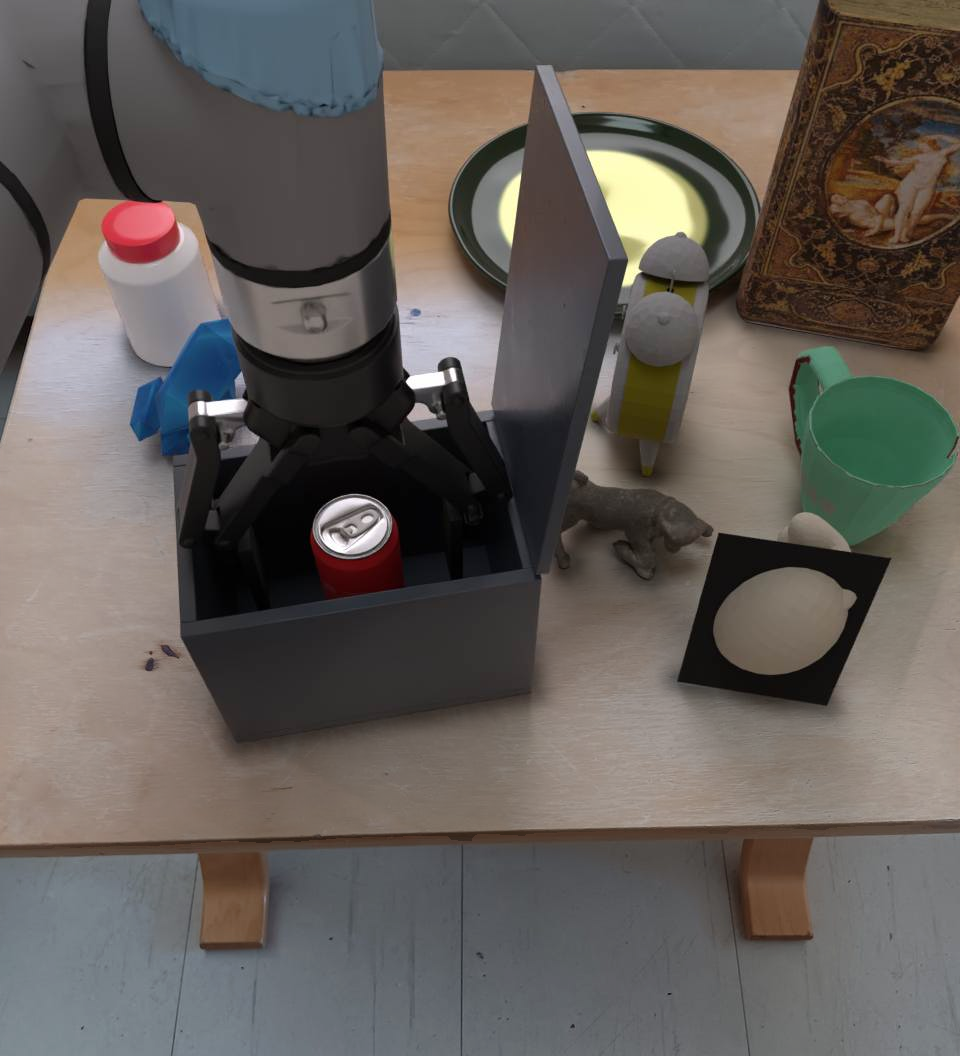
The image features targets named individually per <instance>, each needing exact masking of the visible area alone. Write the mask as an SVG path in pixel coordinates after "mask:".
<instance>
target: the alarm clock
mask: <svg viewBox="0 0 960 1056" xmlns="http://www.w3.org/2000/svg"><path fill="white" fill-rule="evenodd" d="M638 268H639V270H641V271H643V272H640V273H638V274H637V275H636V277H635V279H634V282H633V284H632V285H631V290H630V298H629V302H628V307H627V310H625V309H626V306H625V305H624V307H623V311H622V317H620V319H621V320H624V321H623V325H622V330H621V335H620V339H619V340H615V341H614V345H613V350H612V355H616V354H617V355H616V361H615V365H614V366H615V367H614V372H613V377H612V382H611V389H610V394H609V396H608V397H607V398H606V399H604V401H603V402H602V403H601V404H599V406H598V407H596V408H595V409H594V410H593V411H592V412H590V414H589V417H590V419H591V421H593V422H595V421H599V420H603V419H605V418H606V420H605V426H606V427H605V428H606V429H607V430H608V431H609V432H610V433H612V434H616V435H617V436H620V437H626V438H630V439H631V438H632V439H637V440H638V442H639V454H640V466H641V475H642V476H645V477H649V476H651V475H652V473H653V469H654V466H655V462H656V459H657V455H658V452H659V448H660V445H661V444H663V443H667V444H670V443H673V442H675V441H676V439H677V437H678V435H679V433H680V429H681V426H682V422H683V417H684V415H685V410H686V406H687V401H688V397H689V393H690V389H691V384H692V380H693V375H694V371H695V366H696V363H697V361H696V360H697V356H698V354H699V353H698V352H699V347H700V343H701V338H702V333H703V328H704V323H705V316H706V312H707V307H708V301H709V295H710V294H709V286H708V285H707V284H706V283H705V281H706V280H708V277H709V263H708V260H707V257H706V254H705V252H704V250H703V249H702V248H701V246H700V245H699V244H698V243H696V242H695V241H694V240H692V239H690V238H688V237H687V236H686V234H685V233H684V232H677V233H676V235H673V236H667V237H664V238H662V239H659V240H657V241H656V242H655V243H653V244H652V245H651V246H650V247H649V248H648V249H647V251H646V252H645V253H644V255H643V257H642V259H641V261H640V264H639V267H638ZM708 294H709V295H708ZM624 315H626V316H625V317H624ZM616 352H617V353H616Z"/></svg>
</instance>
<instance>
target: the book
mask: <svg viewBox="0 0 960 1056" xmlns="http://www.w3.org/2000/svg"><path fill="white" fill-rule="evenodd" d="M817 3H818V4H817V7H816V11H815V13H814V18H813V21H812V25H811V28H810V32H809V35H808V39H807V43H806V46H805V49H804V53H803V57H802V60H801V64H800V68H799V70H798V75H797V78H796V82H795V86H794V89H793V93H792V96H791V101H790V104H789V107H788V111H787V115H786V118H785V122H784V125H783V129H782V132H781V136H780V139H779V142H778V146H777V150H776V153H775V158H774V160H773V165H772V168H771V172H770V176H769V178H768V183H767V186H766V189H765V193H764V197H763V200H762V204H761V206H760V207H761V211H760V214H759V218H758V222H757V225H756V229H755V232H754V236H753V240H752V243H751V247H750V250H749V254H748V257H747V261H746V265H745V267H744V268H743V272H742V275H741V280H740V282H739V286H738V290H737V294H736V297H735V309H736V311H737V313H738V315H739V317H740V318H741V319H742V320H743V321H745V322H746V323H751V324H756V325H757V324H758V325H763V326H768V327H775V328H780V329H787V330H792V331H798V332H804V333H807V334H808V333H809V334H814V335H820V336H826V337H831V338H838V339H843V340H849V341H855V342H860V343H867V344H873V345H877V346H885V347H890V348H899V349H906V350H912V351H925V350H928V349H929V348H930V347H932V346H933V345H934V343H935V342H936V341H937V339H938V338H939V337H940V335H941V333H942V331H943V329H944V327H945V325H946V324H947V321H948V320H949V317H950V316H951V313H952V312H953V310H954V308H955V306H956V304H957V302H958V300H959V298H960V0H818V2H817Z"/></svg>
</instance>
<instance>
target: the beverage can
mask: <svg viewBox="0 0 960 1056" xmlns="http://www.w3.org/2000/svg"><path fill="white" fill-rule="evenodd" d="M310 540H311V546H312V550H313V554H314V558H315V562H316V565H317V569H318V573H319V577H320V581H321V585H322V589H323V593H324V597H325V600H332V599H339V598H345V597H351V596H357V595H364V594H370V593H376V592H382V591H389V590H395V589H401V588H405V582H404V574H403V566H402V558H401V550H400V542H399V534H398V527H397V524H396V521H395V519H394V518H393V516H392V515H391V514H390V512H389V510H388V509H387V508H386V507H385V505H383V504H382V503H381V502H380V501H378V500H376V499H374V498H372V497H369V496H366V495H360V494H350V495H344V496H341V497H338V498H335V499H333V500H331V501H330V502H328V503H327V504H325V505H324V506H323V507H322V508H321V509H320V510H319V512H318V513H317V515H316V517H315V519H314V522H313V527H312V530H311V536H310Z"/></svg>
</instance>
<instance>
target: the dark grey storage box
mask: <svg viewBox="0 0 960 1056" xmlns="http://www.w3.org/2000/svg"><path fill="white" fill-rule="evenodd" d="M476 413H477V415H478V417H479V418H480V420H481V422H482V424H483V425H484V427H485V429H486V430H487V432H488V434H489V436H490V437H491V439H492V441H493V442H494V444H495V446H496V448H497V449H498V451H499V453H500V455H501V456H502V458H503V460H504V462H505V466H506V469H507V473H508V477H509V481H510V485H511V489H512V493H513V497H512V499H511V500H510V501H508V502H506V503H503V504H498V503H495V502H494V501H493V500H492V501H489V502H487V503H485V504H484V505H483V506H482V508H483V513H484V520H483V522H481V523H480V534H479V536H478V537H477V539H474V540H467V541H463V579H458V580H451V579H450V574H449V569H448V564H447V560H446V555H445V550H444V529H443V498H441V497H440V496H439V495H437V494H436V493H435V492H433V491H432V490H431V489H429V488H428V487H426V486H425V485H424V484H422V483H421V482H420V481H418V480H417V479H415V478H414V477H413V476H411V475H410V474H409V473H407V472H406V471H405V470H403V469H402V468H400V467H397V468H396V469H394V468H392V467H390V466H389V465H388V464H386V463H385V462H383V461H382V460H381V459H379V458H378V457H377V456H375V455H374V454H372V453H371V454H368V456H369V458H368V459H360V460H336V461H333V462H330V463H327V464H324V465H317V466H309V462H305V463H304V464H303V465H302V467H301V468H300V469H299V471H298V472H297V473H296V475H295V476H294V477H293V479H292V480H291V481H290V482H289V483H288V484H285V483H282V485H281V486H280V487H279V489H278V490H277V491H276V493H275V494H274V495H273V497H272V498H271V499H270V501H269V502H268V503H267V505H266V506H265V507H264V509H263V510H262V511H261V513H260V514H259V515H258V517H257V518H256V519H255V521H254V522H253V523H252V528H253V531H254V534H255V537H256V540H257V544H258V547H259V550H260V553H261V556H262V560H263V563H264V566H265V569H266V572H267V578H268V588H269V598H270V608H271V609H270V610H263V611H258V609H257V606H256V603H255V600H254V597H253V594H252V592H251V589H250V586H249V583H248V580H247V577H246V574H240V575H233V576H231V575H230V574H228V573H227V572H226V570H225V567H224V565H223V562H222V560H221V557H220V554H219V552H218V549H217V548H215V546H214V545H213V544H210V543H202V542H201V544H200V546H198V547H197V548H193V549H186V548H183V547H181V546H180V545H179V541H178V523H177V504H178V499H179V495H180V490H181V485H182V481H183V476H184V471H185V467H186V462H187V457H188V454H178V455H172V467H173V468H172V475H173V496H174V497H173V498H174V500H173V501H174V521H175V541H176V542H175V543H176V564H177V566H176V567H177V585H178V588H177V589H178V609H179V632H180V639H181V641H182V642H183V645H184V647H185V649H186V650H187V652H188V654H189V656H190V658H191V660H192V661H193V664H194V665H195V667H196V669H197V671H198V673H199V674H200V677H201V679H202V680H203V682H204V685H205V686H206V688H207V690H208V692H209V693H210V696H211V698H212V699H213V701H214V703H215V705H216V708H217V709H218V711H219V712H220V715H221V716H222V719H223V721H224V723H225V724H226V726H227V728H228V730H229V732H230V734H231V735H232V737H233V738H234V739H233V740H234V742H235V743H237V744H238V743H239V744H240V743H244V742H245V743H246V742H251V741H255V740H263V739H268V738H273V737H280V736H285V735H291V734H297V733H302V732H308V731H314V730H321V729H326V728H333V727H337V726H344V725H351V724H355V723H361V722H367V721H372V720H379V719H385V718H390V717H396V716H403V715H408V714H414V713H419V712H425V711H430V710H431V711H432V710H437V709H443V708H449V707H454V706H460V705H466V704H472V703H478V702H483V701H490V700H496V699H501V698H507V697H513V696H519V695H525V694H530V693H532V688H533V687H532V686H533V677H534V667H535V655H536V645H537V635H538V626H539V625H538V624H539V613H540V605H541V603H540V602H541V594H542V582H543V579H542V578H543V577H542V574H540V575H536V574H535V570H534V566H533V562H532V558H531V555H530V551H529V547H528V543H527V539H526V535H525V532H524V528H523V524H522V520H521V516H520V512H519V509H518V505H517V501H516V497H515V493H514V489H513V486H512V482H511V478H510V474H509V470H508V466H507V463H506V459H505V455H504V451H503V447H502V443H501V440H500V436H499V432H498V428H497V424H496V420H495V417H494V413H493V409H490V410H481V411H476ZM411 422H412V423H413V424H414V425H415V426H417V427H418V428H419V429H420V430H422V431H423V432H424V433H425V434H427V435H428V436H429V437H430V438H432V439H433V440H434V441H435V442H437V443H438V444H439V445H440V446H442V447H443V448H444V449H445V450H447V451H448V452H449V453H450V454H452V455H453V456H454V457H455V458H457V459H458V460H459V461H460V462H462V463H463V464H464V465H465V466H467V467H468V468H469V469H470V470H472V471H473V472H474V470H473V469H472V467H471V465H470V464H469V462H468V461H467V459H466V458H465V456H464V454H463V453H462V451H461V450H460V448H459V446H458V445H457V443H456V442H455V440H454V439H453V437H452V435H451V433H450V431H449V429H448V426H447V421H446V419H445V420H443V421H440V420H438V419H437V418H436V417H434V418H427V419H420V420H419V419H418V420H413V421H411ZM256 444H257V443H252V444H247V445H240V446H239V445H238V446H233V447H229V448H228V449H227V450H221V466H220V471H219V475H218V479H217V483H216V487H215V491H214V495H213V498H214V501H215V500H216V499H219V498H220V496H221V495H222V493H223V492H224V490H225V489H226V487H227V486H228V484H229V483H230V482H231V480H232V479H233V477H234V476H235V474H236V473H237V471H238V470H239V468H240V467H241V466H242V464H243V463H244V461H245V460H246V458H247V457H248V455H249V454H250V452H251V451H252V450H253V448H254V447H255V445H256ZM350 494H360V495H366V496H369V497H372V498H374V499H376V500H378V501H380V502H381V503H382V504H383V505H385V507H386V508H387V509H388V510H389V512H390V514H391V515H392V516H393V518H394V519H395V521H396V524H397V527H398V534H399V542H400V550H401V558H402V566H403V574H404V582H405V588H401V589H395V590H389V591H382V592H376V593H370V594H364V595H357V596H351V597H345V598H339V599H332V600H325V597H324V593H323V589H322V585H321V581H320V577H319V573H318V569H317V565H316V562H315V558H314V554H313V550H312V546H311V540H310V536H311V530H312V527H313V522H314V519H315V517H316V515H317V513H318V512H319V510H320V509H321V508H322V507H323V506H324V505H325V504H327V503H328V502H330V501H331V500H333V499H335V498H338V497H341V496H344V495H350ZM210 510H212V509H211V506H210Z"/></svg>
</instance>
